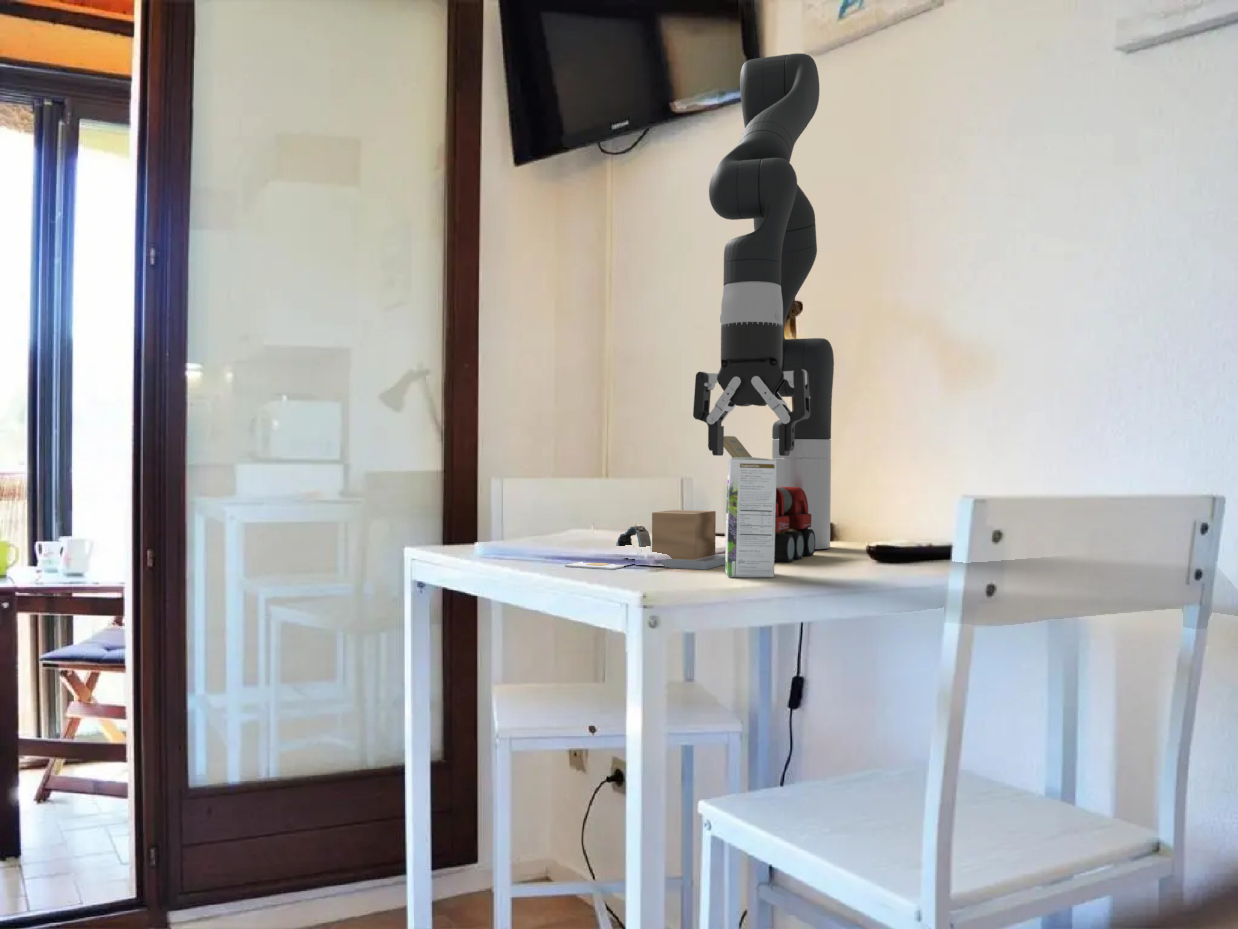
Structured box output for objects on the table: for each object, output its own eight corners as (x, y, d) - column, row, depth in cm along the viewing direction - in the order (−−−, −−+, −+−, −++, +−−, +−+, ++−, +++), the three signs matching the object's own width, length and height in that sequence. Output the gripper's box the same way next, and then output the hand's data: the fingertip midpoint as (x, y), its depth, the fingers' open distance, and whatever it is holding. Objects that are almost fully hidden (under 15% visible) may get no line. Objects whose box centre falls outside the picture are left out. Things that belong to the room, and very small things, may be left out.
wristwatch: (643, 568, 148) (626, 541, 151) (658, 546, 145) (641, 518, 147) (626, 572, 147) (609, 544, 149) (640, 550, 143) (624, 521, 146)
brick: (674, 552, 146) (674, 509, 146) (715, 554, 143) (715, 511, 143) (651, 557, 138) (652, 512, 138) (694, 560, 136) (694, 513, 136)
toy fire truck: (818, 555, 156) (818, 437, 156) (784, 565, 142) (785, 435, 142) (746, 551, 161) (746, 437, 161) (707, 560, 147) (708, 435, 147)
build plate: (664, 559, 147) (664, 551, 147) (731, 562, 143) (731, 555, 143) (634, 565, 138) (634, 557, 138) (705, 569, 134) (705, 561, 134)
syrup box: (724, 572, 131) (725, 457, 131) (771, 573, 131) (772, 457, 131) (727, 577, 126) (728, 457, 125) (776, 578, 125) (777, 457, 125)
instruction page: (596, 560, 145) (596, 558, 145) (642, 563, 142) (642, 561, 142) (564, 566, 137) (564, 564, 137) (612, 569, 134) (612, 567, 134)
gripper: (817, 324, 128) (815, 456, 128) (708, 329, 135) (706, 455, 135) (799, 316, 122) (798, 455, 122) (686, 322, 128) (684, 455, 128)
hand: (750, 455), depth 128 cm, fingers open, 8 cm apart
